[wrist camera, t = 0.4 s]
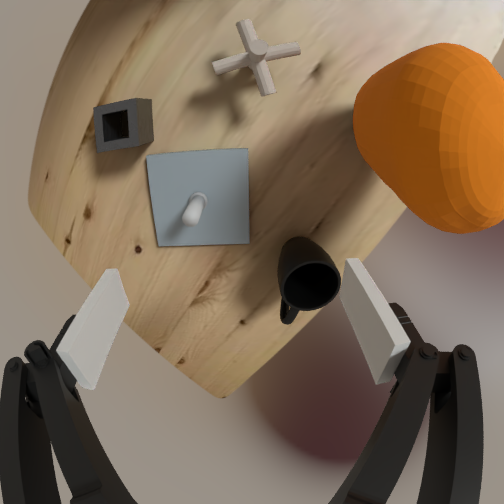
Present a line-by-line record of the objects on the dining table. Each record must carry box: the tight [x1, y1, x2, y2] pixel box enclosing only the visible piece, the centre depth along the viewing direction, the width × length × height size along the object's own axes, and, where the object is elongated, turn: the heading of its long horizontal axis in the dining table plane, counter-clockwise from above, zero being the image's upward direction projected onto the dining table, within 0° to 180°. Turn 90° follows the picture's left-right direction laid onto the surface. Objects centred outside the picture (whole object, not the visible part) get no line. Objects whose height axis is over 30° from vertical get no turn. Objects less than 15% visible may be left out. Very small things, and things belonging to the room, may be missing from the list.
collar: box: [93, 98, 154, 153], centre depth 30 cm, size 6×6×6 cm
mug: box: [278, 237, 341, 325], centre depth 40 cm, size 8×12×10 cm
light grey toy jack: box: [212, 19, 301, 96], centre depth 25 cm, size 10×10×10 cm
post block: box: [146, 148, 250, 246], centre depth 35 cm, size 14×14×8 cm
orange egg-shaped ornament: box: [353, 43, 504, 234], centre depth 23 cm, size 17×17×25 cm
